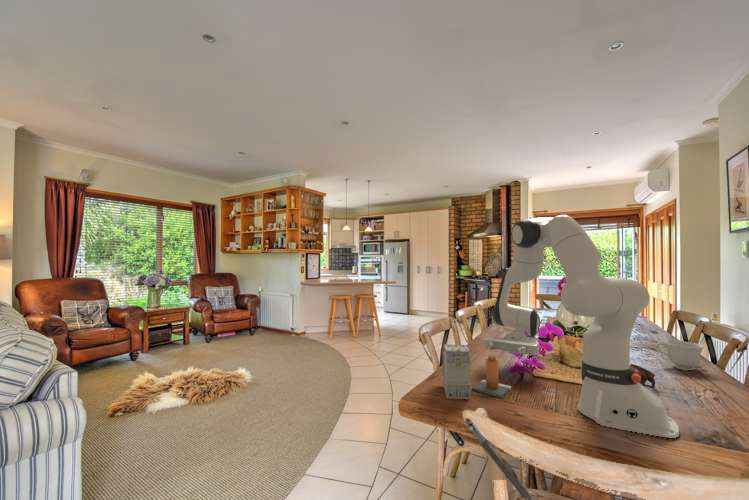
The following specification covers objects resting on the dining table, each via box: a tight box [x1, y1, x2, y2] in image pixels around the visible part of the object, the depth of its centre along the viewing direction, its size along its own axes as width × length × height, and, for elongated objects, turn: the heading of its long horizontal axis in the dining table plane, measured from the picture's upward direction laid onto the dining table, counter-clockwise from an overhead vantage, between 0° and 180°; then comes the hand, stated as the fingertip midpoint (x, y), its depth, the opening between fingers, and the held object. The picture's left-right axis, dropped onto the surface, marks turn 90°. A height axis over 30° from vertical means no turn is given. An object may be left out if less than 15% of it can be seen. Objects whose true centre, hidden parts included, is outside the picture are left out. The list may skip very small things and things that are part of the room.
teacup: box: [655, 339, 705, 371], centre depth 136 cm, size 12×15×10 cm
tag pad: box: [471, 379, 512, 399], centre depth 113 cm, size 10×10×1 cm
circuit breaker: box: [442, 343, 472, 400], centre depth 113 cm, size 8×14×15 cm, turn 174°
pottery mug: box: [629, 363, 656, 389], centre depth 116 cm, size 12×10×8 cm
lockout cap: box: [485, 355, 499, 389], centre depth 113 cm, size 4×4×10 cm
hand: (504, 349), depth 122 cm, fingers open, 8 cm apart
